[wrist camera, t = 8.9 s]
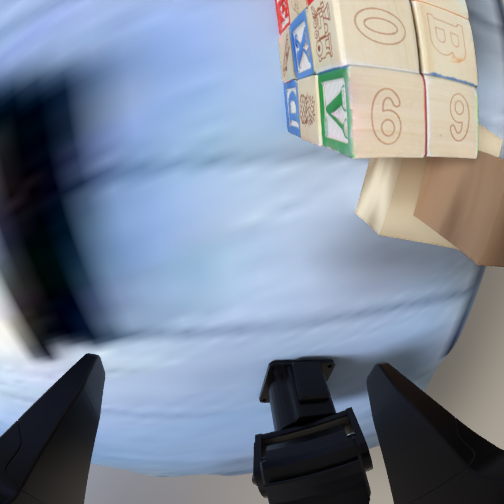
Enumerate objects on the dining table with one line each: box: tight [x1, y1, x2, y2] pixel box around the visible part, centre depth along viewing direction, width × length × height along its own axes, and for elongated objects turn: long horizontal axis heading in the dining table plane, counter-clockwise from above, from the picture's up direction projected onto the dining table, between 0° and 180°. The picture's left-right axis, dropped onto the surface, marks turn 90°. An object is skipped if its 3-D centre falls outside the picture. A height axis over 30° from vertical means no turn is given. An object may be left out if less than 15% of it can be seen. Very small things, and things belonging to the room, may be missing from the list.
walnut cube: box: [413, 150, 504, 267], centre depth 12 cm, size 5×5×6 cm
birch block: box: [355, 123, 503, 249], centre depth 17 cm, size 9×9×4 cm
